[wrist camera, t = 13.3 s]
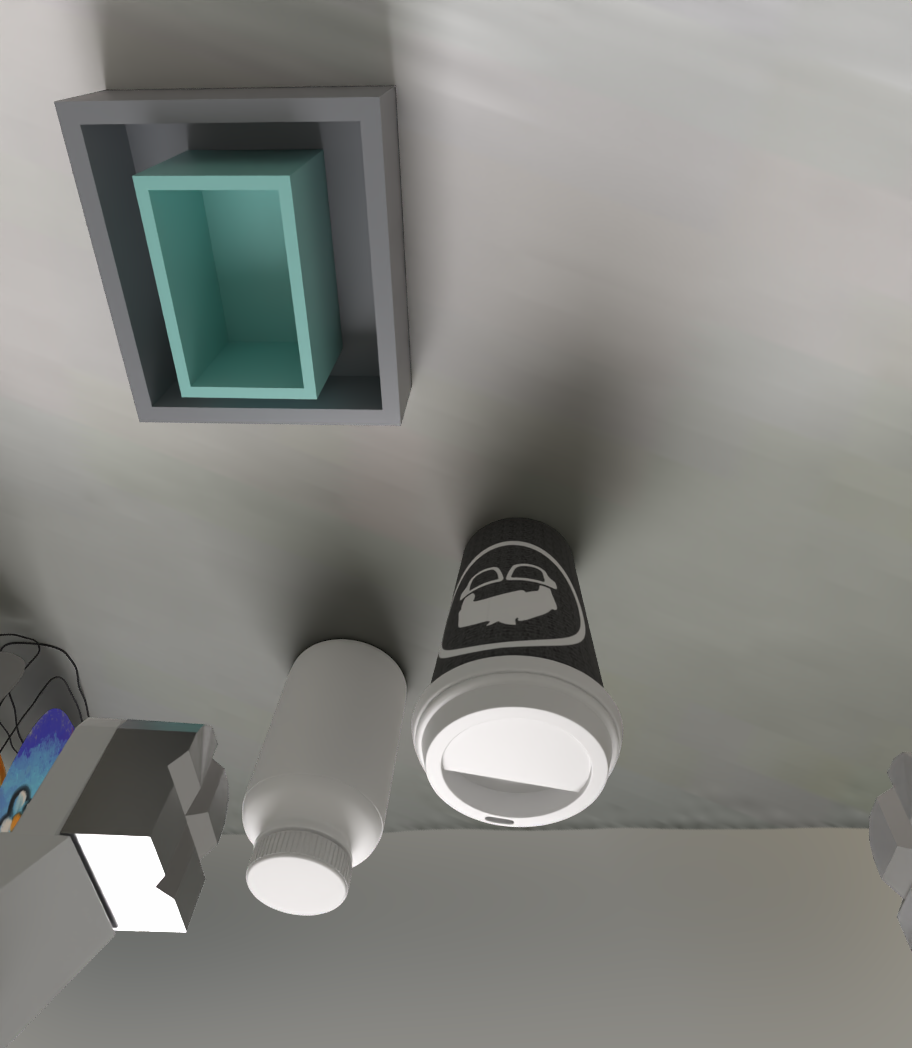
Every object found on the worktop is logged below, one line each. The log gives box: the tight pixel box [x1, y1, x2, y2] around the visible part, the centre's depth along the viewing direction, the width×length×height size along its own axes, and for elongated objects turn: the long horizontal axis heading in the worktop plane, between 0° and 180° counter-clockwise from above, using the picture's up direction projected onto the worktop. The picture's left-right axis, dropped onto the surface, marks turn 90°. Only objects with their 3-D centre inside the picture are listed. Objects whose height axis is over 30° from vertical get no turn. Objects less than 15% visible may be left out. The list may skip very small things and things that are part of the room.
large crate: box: [54, 85, 412, 426], centre depth 35 cm, size 13×14×4 cm
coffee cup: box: [411, 518, 623, 827], centre depth 40 cm, size 10×10×15 cm
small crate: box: [132, 149, 343, 399], centre depth 34 cm, size 6×9×6 cm, turn 1°
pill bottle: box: [242, 639, 407, 915], centre depth 47 cm, size 8×8×15 cm
